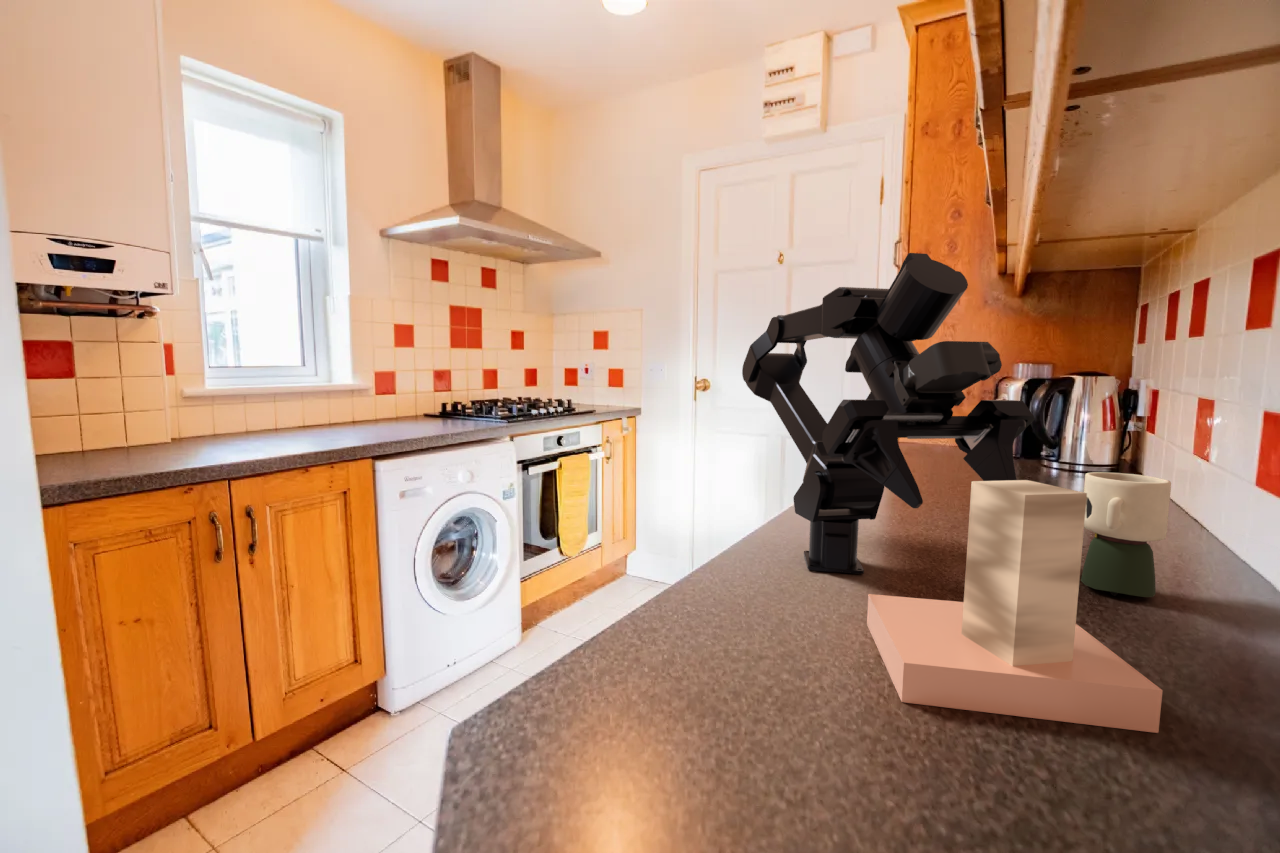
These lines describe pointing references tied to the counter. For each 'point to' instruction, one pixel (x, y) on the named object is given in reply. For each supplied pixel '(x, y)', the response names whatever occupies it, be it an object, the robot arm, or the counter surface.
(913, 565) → the counter surface
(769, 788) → the counter surface
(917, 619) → the terracotta stand
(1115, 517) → the character mug
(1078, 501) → the birch block
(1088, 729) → the counter surface
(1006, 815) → the counter surface
